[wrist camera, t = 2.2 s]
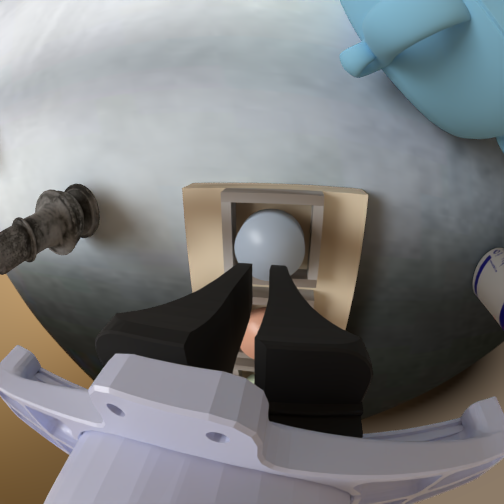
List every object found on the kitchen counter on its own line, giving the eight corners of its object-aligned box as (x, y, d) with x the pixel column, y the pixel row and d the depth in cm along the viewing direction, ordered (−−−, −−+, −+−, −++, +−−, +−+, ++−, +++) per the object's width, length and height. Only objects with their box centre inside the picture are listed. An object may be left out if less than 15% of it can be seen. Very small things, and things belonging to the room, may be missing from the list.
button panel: (325, 384, 26) (326, 409, 23) (213, 375, 27) (205, 399, 24) (361, 189, 18) (374, 199, 15) (192, 183, 19) (173, 192, 16)
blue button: (301, 270, 18) (302, 283, 16) (240, 267, 18) (235, 279, 17) (306, 209, 16) (307, 217, 14) (238, 207, 16) (233, 214, 15)
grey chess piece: (97, 178, 20) (-17, 225, 9) (106, 241, 23) (12, 313, 12) (56, 182, 21) (-42, 224, 10) (65, 238, 23) (-20, 296, 12)
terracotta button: (293, 349, 20) (292, 364, 19) (242, 345, 21) (239, 359, 19) (298, 308, 19) (298, 322, 17) (241, 304, 19) (237, 318, 18)
